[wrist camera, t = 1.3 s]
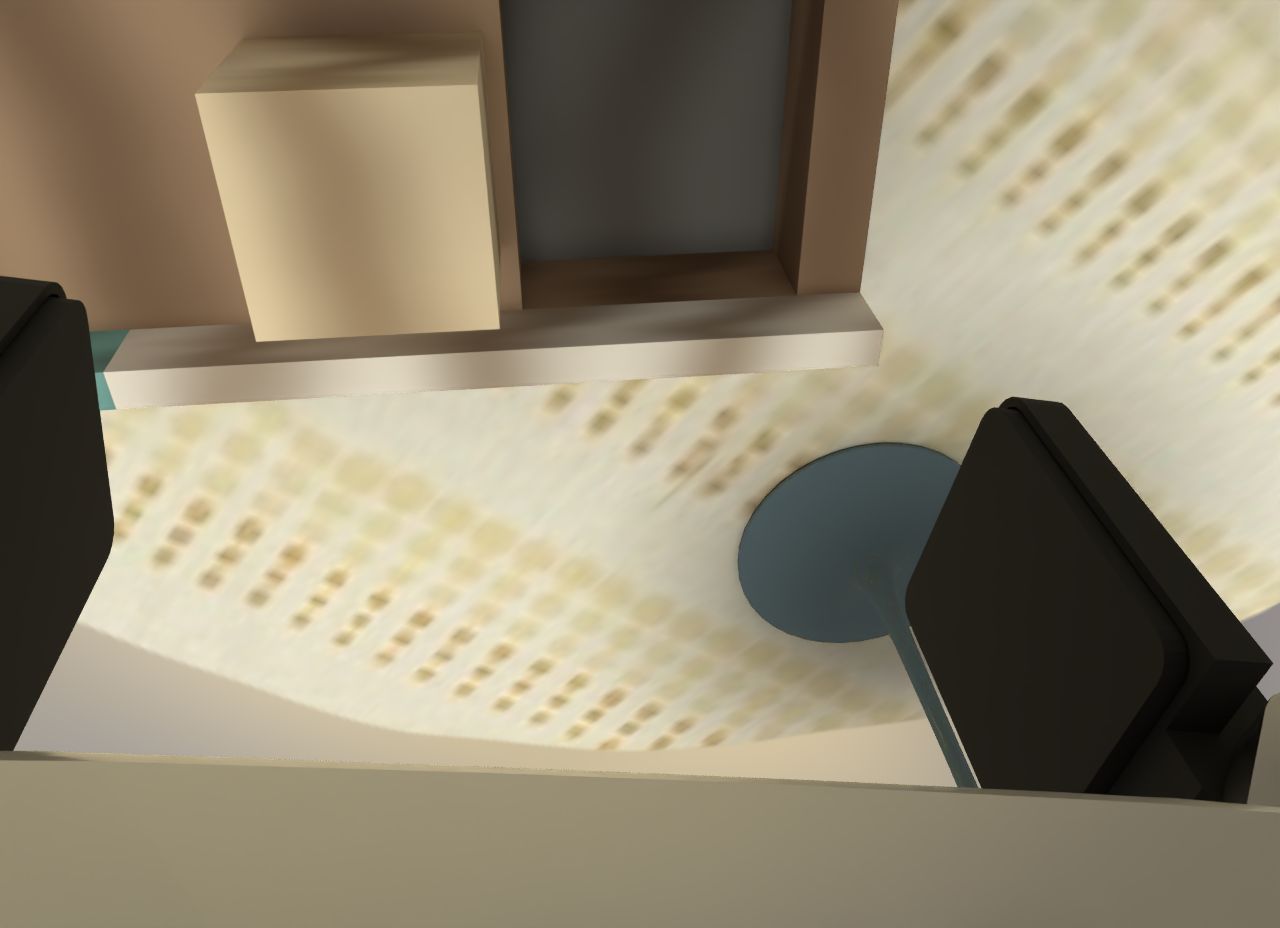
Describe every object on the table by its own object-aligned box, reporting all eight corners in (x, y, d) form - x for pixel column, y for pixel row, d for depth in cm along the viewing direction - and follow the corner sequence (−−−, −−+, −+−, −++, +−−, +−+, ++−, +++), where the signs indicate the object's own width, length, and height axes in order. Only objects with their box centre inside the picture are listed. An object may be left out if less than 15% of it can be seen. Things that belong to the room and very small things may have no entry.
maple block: (481, 31, 27) (477, 84, 22) (500, 248, 30) (499, 329, 26) (243, 38, 26) (194, 93, 22) (290, 258, 30) (256, 342, 25)
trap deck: (869, -147, 29) (951, -120, 23) (822, 281, 36) (877, 374, 31) (-366, -129, 26) (-587, -95, 21) (-138, 329, 33) (-259, 439, 28)
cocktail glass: (878, 272, 36) (1352, 953, 16) (1154, 508, 44) (1703, 1163, 24) (563, 587, 43) (616, 1339, 23) (850, 742, 51) (1077, 1402, 31)
